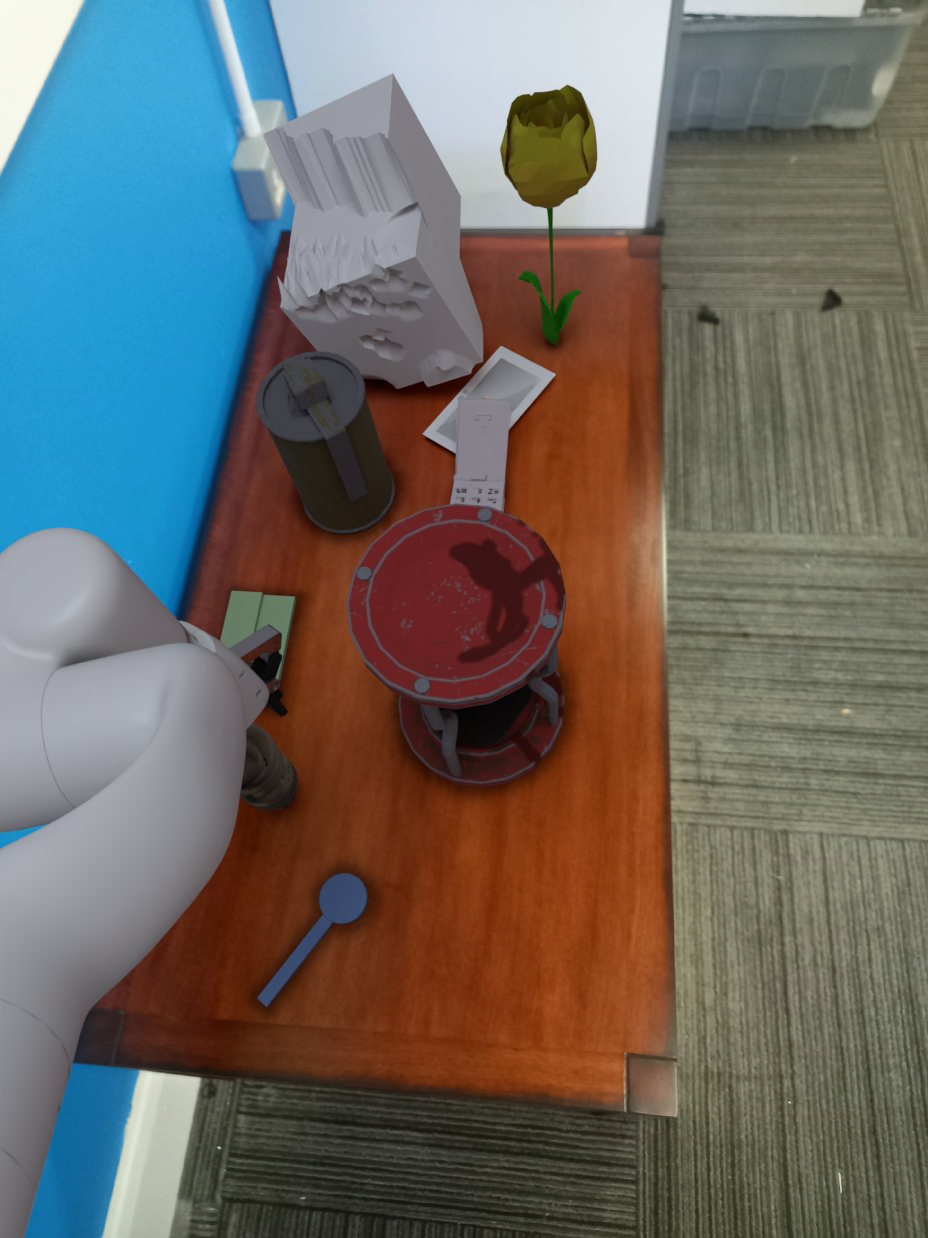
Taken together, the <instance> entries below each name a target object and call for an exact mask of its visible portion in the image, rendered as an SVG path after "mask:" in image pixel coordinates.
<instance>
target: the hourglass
mask: <svg viewBox="0 0 928 1238" xmlns="http://www.w3.org/2000/svg"><path fill="white" fill-rule="evenodd" d="M352 572H353V573H352V577H351V581H350V584H349V589H348V593H347V598H346V612H347V620H348V630H349V634H350V637H351V638H352V641H353V643H354V645H355V647H356V649H357V651H358V653H359V655H360V657H361V659H362V661H363V663H364V665H365V667H366V668H367V669H368V671H370V672H371V673H372V674H373V675H374V676H375V677H376V678H377V679H378V680H379V681H380V682H381V683H382V684H383V685H384V686H385V687H386V688H387V689H388V690H389V691H390V692H393V693H395V694H397V695H399V697H398V698H399V699H398V703H397V705H398V713H399V714H398V715H399V721H400V729H401V730H402V733H403V735H404V737H405V739H406V741H407V743H408V745H409V747H410V749H411V752H412V753H413V755H414V756H415V757H416V758H417V759H418V760H419V761H420V762H421V763H422V764H423V765H424V766H425V767H426V768H427V769H428V770H429V771H430V772H431V773H432V774H435V775H436V776H439V777H441V778H443V779H445V780H447V781H449V782H450V783H453V784H455V785H460V786H467V787H475V788H482V789H483V788H488V787H494V786H499V785H505V784H509V783H511V782H514V781H515V780H517V779H519V778H521V777H523V776H525V775H527V774H528V773H530V772H532V771H533V770H534V769H535V768H536V767H538V765H539V764H540V763H541V762H542V761H543V760H544V759H545V758H546V757H547V756H548V755H549V754H550V753H551V752H552V750H553V747H554V746H555V743H556V742H557V739H558V738H559V735H560V733H561V731H562V728H563V720H564V713H565V712H564V711H565V705H566V698H565V694H564V689H563V684H562V680H561V676H560V673H559V671H558V670H557V669H558V668H559V660H558V659H559V657H558V656H559V653H558V651H559V650H558V649H559V648H558V642H559V641H560V638H561V636H562V634H563V627H564V620H565V613H566V606H567V605H566V604H567V593H566V587H565V582H564V579H563V572H562V569H561V565H560V562H559V561H558V559H557V558H556V555H555V554H554V553H553V551H552V550H551V548H550V547H549V545H548V544H547V542H546V541H545V539H544V537H543V536H541V534H539V533H538V532H537V531H536V530H534V529H533V528H532V527H531V526H529V524H527V523H525V522H524V521H523V520H521V519H520V518H519V517H517V516H514V515H512V514H509V513H507V512H505V511H504V512H502V511H500V510H497V509H495V508H492V507H489V506H481V505H470V504H459V503H455V504H450V503H449V504H445V505H439V506H434V507H428V508H424V509H420V510H419V511H417V512H415V513H413V514H411V515H409V516H406V517H405V518H403V519H401V520H398V521H395V522H394V523H393V524H392V525H391V526H389V528H387V529H385V531H384V532H383V533H382V534H380V535H379V536H378V537H377V538H376V539H375V540H374V541H372V542H371V543H370V544H369V546H368V548H367V549H366V551H365V552H364V553H363V556H361V559H360V561H359V562H358V564H357V566H356V567H355V568H354V570H353V571H352Z"/></svg>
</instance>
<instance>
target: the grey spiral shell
mask: <svg viewBox="0 0 928 1238" xmlns="http://www.w3.org/2000/svg"><path fill="white" fill-rule="evenodd" d="M298 789H299V775H298V772H297V769H296V768H295V766H294V764H293V763H292V761H290V759H289V758H288V757H287V756H286V755H285V754H284V753H282V751H281V749H280V748H279V746H278V745H277V743H276V741H275V739H274V738H273V737H272V736H271V735H270V734H269V732H267V730H266V729H264V728H263V727H262V726H260V725H257V724H256V723H254V722H253V723H252V724H251V725H250V726H249V727H248V728H247V730H246V755H245V764H244V772H243V779H242V786H241V792H240V799H242V800H243V801H244V802H245V803H247V805H249V806H250V807H253V808H255V809H256V810H258V811H263V812H275V811H278V810H282V809H287V808H288V807H289V806H290V805H291V803H292V802H293V801H295V800H296V798H297V793H298Z"/></svg>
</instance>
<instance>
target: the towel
mask: <svg viewBox="0 0 928 1238" xmlns="http://www.w3.org/2000/svg"><path fill="white" fill-rule="evenodd" d="M297 600H298V599H297V598H296V596H293V595H273V594H264V593H263V592H262V591H247V590H246V591H245V590H231V592H230V596H229V600H228V604H227V609H226V613H225V617H224V621H223V625H222V630H221V635H220V639H219V641H221V642H222V643H223V644H225V645H226V646H227V647H228V648H231V647H232V646H234V645H236V644H237V643H239V642H240V641H242V640H243V639H245V638H247V637H248V636H250V635H251V634H253V633H255V632H256V631H258V630H259V629H261V628H263V627H264V626H266V625H268V624H270V625H271V626H272V627H274V628H275V629H276V630H278V631H279V632H280V633H282V642H281V649H280V650H279V653H280V654H281V655H282V660H281V663H280V666H279V669H278V672H277V675H276V679H277V680H279V681H280V683H281V681H282V677H283V676H282V675H283V671H284V667H285V661H286V656H287V651H288V646H289V642H290V641H289V640H290V635H291V631H292V626H293V620H294V615H295V611H296V605H297ZM251 662H253V661H251ZM280 686H281V684H280V685H279V687H278V688H279V689H280Z"/></svg>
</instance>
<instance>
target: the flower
mask: <svg viewBox="0 0 928 1238" xmlns="http://www.w3.org/2000/svg"><path fill="white" fill-rule="evenodd" d="M499 152H500V158H501V165H502V169H503V173H504V176H505V177H506V178H507V179H508V181H509V182H510V183H511V185H512V187H513V188H514V190H515V191H516V192H517V195H518V196H519V197H520V200H522V201H523V202H524V203H526V204H528V205H530V206H532V207H535V208H542V209H546V212H547V213H546V214H547V224H548V245H549V262H550V304H549V302H548V300H547V298H546V297H545V295H544V293H543V289H542V284H541V281H540V279H539V276H538V274H536V273H535V272H532V271H530V270H524V271H523V272H522V273H521V274H520V275H519V276H518V277H517V280H519V281H522V282H525V283H528V284H530V285H532V287H533V289H534V290H535V291H536V292H537V293H538V295H539V302H540V311H541V333H542V334H543V336H544V338H545V339H546V340H547V342H549V343H550V344H552V345H557V346H558V345H559V342H560V336H559V335H560V333H561V331H562V329H563V328H564V326H565V325H566V323H567V320H568V318H569V315H570V312H571V309H572V306H573V304H574V302H575V299H576V297H578V296H579V295H581V293H582V291H581V290H579V289H573V290H572V291H570V292H568V293H565V294H564V295H563V296H562V297H561V298H560V300H559V302H558V303H557V306H556V309H555V284H554V283H555V282H554V281H555V278H554V275H555V274H554V220H553V219H554V208H558V207H560V206H561V205H562V204H563V203H565V201H567V200H569V199H570V198H573V197H574V196H576V195H578V194H579V191H580V190H581V189H582V188H585V187H586V186H587V185H588V184H589V182H590V181H591V179H592V177H593V176H594V174H595V172H596V171H597V165H598V143H597V131H596V125H595V122H594V118H593V115H592V114H591V111H590V109H589V107H588V104H587V102H586V100H585V98H584V96H583V94H582V92H581V90H578V89H577V88H575V87H574V86H571V85H569V84H566V85H564V86H563V87H561V88H560V89H559V88H557V89H553V90H547V91H546V90H545V91H534V92H533V93H532V94H531V93H523V94H520V95H518V96H517V97H516V98H514V99H513V100H512V101H511V104H510V107H509V111H508V115H507V118H506V126H505V130H504V133H503V137H502V141H501V144H500V147H499Z"/></svg>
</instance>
